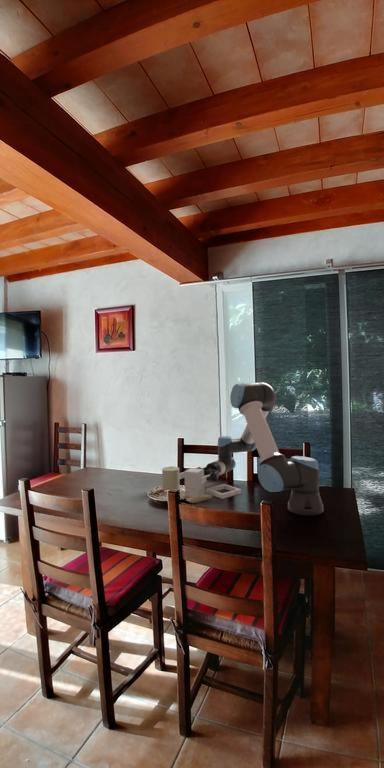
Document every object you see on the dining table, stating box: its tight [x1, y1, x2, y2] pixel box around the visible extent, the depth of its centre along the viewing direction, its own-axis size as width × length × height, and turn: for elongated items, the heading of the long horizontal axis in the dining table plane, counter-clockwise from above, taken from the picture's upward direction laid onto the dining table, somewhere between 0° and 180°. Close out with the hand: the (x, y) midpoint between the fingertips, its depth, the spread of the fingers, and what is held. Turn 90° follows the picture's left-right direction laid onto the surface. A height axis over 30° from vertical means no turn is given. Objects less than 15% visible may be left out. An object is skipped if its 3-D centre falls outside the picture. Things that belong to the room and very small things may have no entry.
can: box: [161, 466, 181, 493], centre depth 209 cm, size 9×9×12 cm
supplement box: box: [183, 467, 206, 498], centre depth 196 cm, size 7×7×13 cm
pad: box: [179, 493, 213, 504], centre depth 196 cm, size 12×12×1 cm
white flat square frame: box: [205, 483, 242, 500], centre depth 202 cm, size 13×13×2 cm
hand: (190, 478), depth 193 cm, fingers open, 13 cm apart
